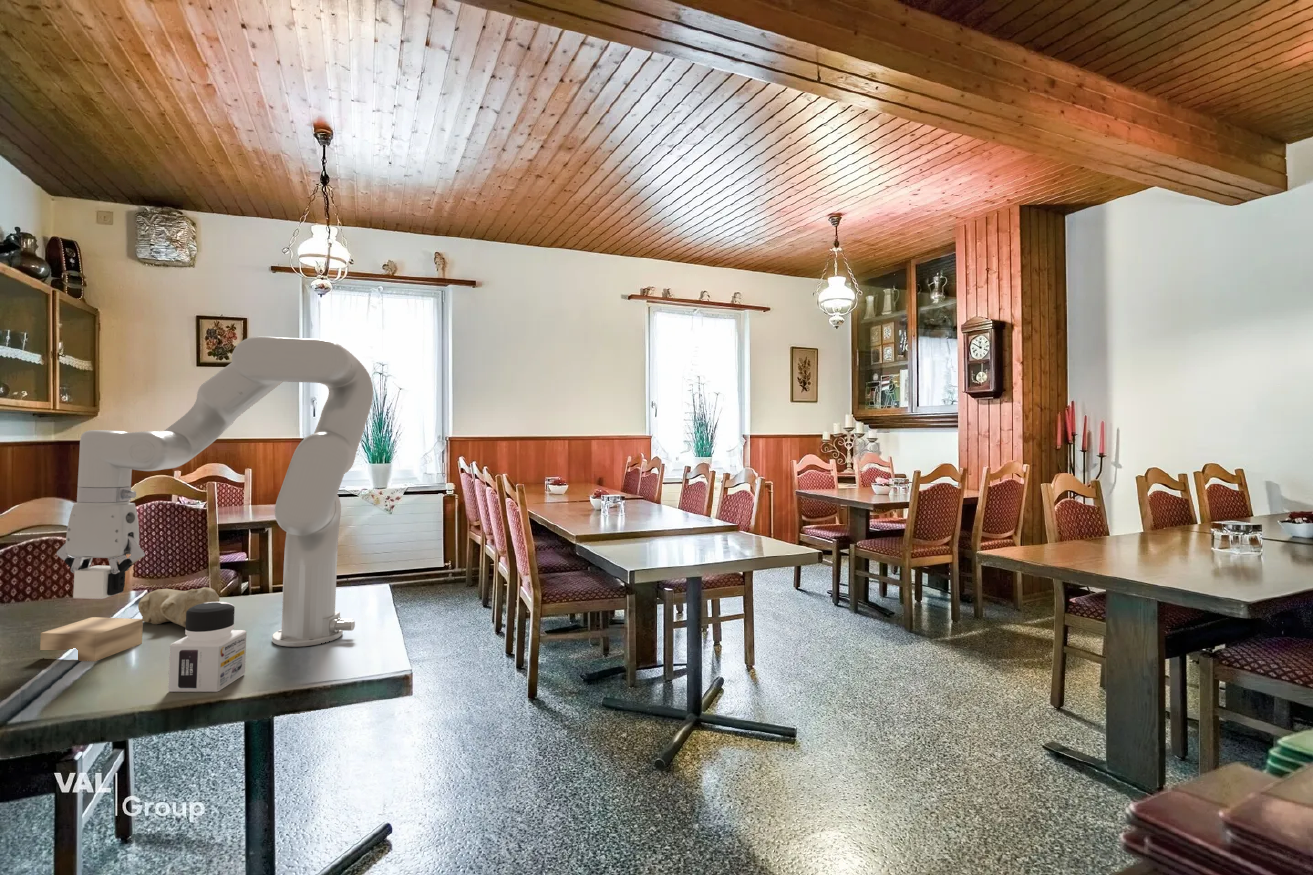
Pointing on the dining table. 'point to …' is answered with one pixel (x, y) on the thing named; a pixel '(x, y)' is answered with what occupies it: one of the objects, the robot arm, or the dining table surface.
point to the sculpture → (173, 604)
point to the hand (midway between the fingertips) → (99, 592)
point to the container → (207, 650)
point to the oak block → (94, 637)
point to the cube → (92, 582)
